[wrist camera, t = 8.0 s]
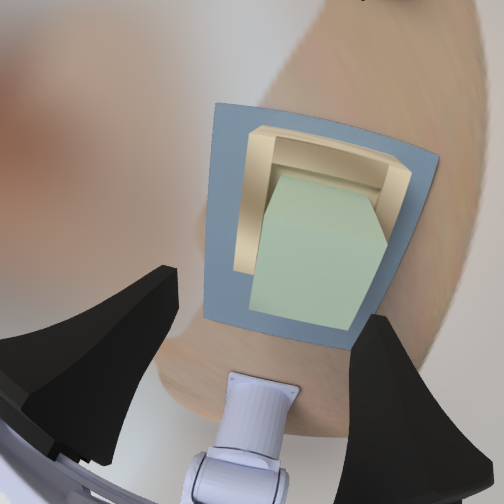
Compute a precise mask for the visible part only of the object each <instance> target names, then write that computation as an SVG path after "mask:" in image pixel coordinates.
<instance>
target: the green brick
mask: <svg viewBox="0 0 504 504" xmlns="http://www.w3.org/2000/svg"><path fill="white" fill-rule="evenodd" d="M387 246H388V244H387V242H386V239H385V236H384V234H383V231H382V229H381V226H380V224H379V221H378V219H377V216H376V214H375V212H374V209H373V207H372V205H371V202H370V200H369V198H368V195H365V194H362V193H358V192H354V191H350V190H346V189H343V188H339V187H335V186H330V185H326V184H322V183H318V182H314V181H309V180H305V179H300V178H296V177H291V176H286V175H281V176H280V178H279V181H278V183H277V186H276V188H275V190H274V193H273V195H272V198H271V200H270V203H269V205H268V207H267V210H266V212H265V215H264V219H263V225H262V231H261V237H260V243H259V249H258V255H257V261H256V267H255V273H254V279H253V285H252V291H251V297H250V303H249V309H250V310H254V311H258V312H262V313H266V314H271V315H275V316H280V317H284V318H289V319H293V320H298V321H302V322H307V323H312V324H317V325H322V326H327V327H332V328H337V329H342V330H348V329H349V327H350V325H351V323H352V321H353V320H354V318H355V316H356V314H357V312H358V310H359V308H360V306H361V304H362V302H363V299H364V297H365V295H366V293H367V291H368V289H369V287H370V285H371V282H372V280H373V278H374V276H375V274H376V271H377V269H378V267H379V265H380V262H381V260H382V258H383V255H384V253H385V250H386V248H387Z"/></svg>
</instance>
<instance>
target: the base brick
mask: <svg viewBox="0 0 504 504" xmlns="http://www.w3.org/2000/svg"><path fill="white" fill-rule="evenodd" d="M281 175H286V176H291V177H296V178H300V179H305V180H309V181H314V182H318V183H322V184H326V185H330V186H335V187H339V188H343V189H346V190H350V191H354V192H358V193H362V194H365V195H368V198H369V200H370V202H371V205H372V207H373V209H374V212H375V214H376V216H377V219H378V221H379V224H380V226H381V229H382V231H383V234H384V236H385V239H386V242H387V243H388V240H389V238H390V235H391V233H392V230H393V227H394V225H395V222H396V219H397V217H398V214H399V211H400V208H401V205H402V202H403V199H404V197H405V194H406V190H407V187H408V184H409V181H410V178H411V175H412V172H411V171H410V170H409V169H408V168H406V167H405V166H404V165H403V164H402V163H401V162H400V161H399V160H398V159H397V158H396V157H394V156H392V155H389V154H386V153H383V152H379V151H376V150H373V149H369V148H366V147H362V146H359V145H355V144H351V143H347V142H343V141H339V140H335V139H331V138H327V137H323V136H318V135H314V134H309V133H304V132H299V131H294V130H289V129H284V128H278V127H272V126H266V125H262V126H260V127H258V128H257V129H255V130H254V131H252V132H251V133H249V138H248V146H247V154H246V162H245V170H244V178H243V186H242V195H241V203H240V212H239V221H238V230H237V239H236V248H235V257H234V266H233V271H238V272H242V273H246V274H251V275H254V273H255V267H256V261H257V255H258V249H259V243H260V237H261V231H262V225H263V219H264V215H265V212H266V210H267V207H268V205H269V203H270V200H271V198H272V195H273V193H274V190H275V188H276V186H277V183H278V181H279V178H280V176H281Z"/></svg>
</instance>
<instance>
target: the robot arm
mask: <svg viewBox="0 0 504 504" xmlns="http://www.w3.org/2000/svg"><path fill="white" fill-rule="evenodd" d="M178 309H179V299H178V278H177V268H173V267H169V266H165V265H162V266H160V267H158V268H156V269H155V270H153V271H152V272H150V273H148V274H147V275H145V276H144V277H143V278H141V279H139V280H138V281H136V282H135V283H133V284H131V285H130V286H128V287H127V288H125V289H124V290H122V291H120V292H119V293H117V294H115V295H114V296H112V297H110V298H108V299H107V300H105V301H103V302H102V303H100V304H98V305H96V306H95V307H93V308H91V309H89V310H87V311H85V312H83V313H81V314H79V315H76V316H74V317H73V318H70V319H68V320H65V321H63V322H60V323H57V324H55V325H52V326H50V327H47V328H44V329H41V330H38V331H35V332H32V333H28V334H24V335H20V336H16V337H12V338H6V339H1V340H0V490H1V491H2V493H3V494H4V495H5V497H6V498H7V499H8V500H9V501H10V502H11V503H12V504H110V503H108V502H106V501H103V500H101V499H98V498H96V497H94V496H92V495H91V492H90V490H91V491H93V492H95V493H97V494H98V495H100V496H102V497H104V498H106V499H108V500H110V501H112V502H114V503H116V504H157V503H155V502H152V501H150V500H148V499H145V498H143V497H140V496H138V495H136V494H134V493H131V492H129V491H127V490H125V489H122V488H121V487H119V486H117V485H115V484H113V483H111V482H109V481H107V480H105V479H103V478H101V477H99V476H98V475H96V474H94V473H92V472H91V471H89V470H87V469H85V468H84V467H82V466H80V465H79V464H78V463H79V461H80V459H81V460H83V461H85V462H86V463H90V461H91V460H93V461H94V462H96V463H98V464H100V465H102V466H107V465H110V464H111V463H112V459H113V455H114V451H115V448H116V444H117V441H118V437H119V434H120V431H121V428H122V425H123V422H124V419H125V417H126V414H127V411H128V409H129V406H130V404H131V401H132V399H133V396H134V394H135V391H136V389H137V387H138V384H139V382H140V380H141V378H142V376H143V374H144V373H145V371H146V369H147V367H148V366H149V364H150V362H151V361H152V359H153V357H154V356H155V354H156V352H157V351H158V349H159V347H160V346H161V344H162V342H163V340H164V339H165V337H166V335H167V334H168V332H169V330H170V328H171V325H172V323H173V321H174V319H175V316H176V314H177V311H178ZM298 392H299V387H298V386H293V385H288V384H283V383H278V382H273V381H269V380H264V379H260V378H255V377H251V376H247V375H243V374H239V373H235V372H231V373H230V374H229V379H228V388H227V396H226V404H225V409H224V412H223V415H222V419H221V422H220V425H219V428H218V431H217V434H216V437H215V441H214V443H213V447H209V448H208V451H207V453H206V452H200V453H199V454H197V455H195V456H194V458H193V459H192V461H191V463H190V465H189V468H188V470H187V473H186V476H185V480H184V485H183V494H182V498H181V502H180V504H285V501H286V497H287V492H288V487H289V474H288V473H287V472H286V469H284V468H280V464H281V461H278V460H279V455H280V450H281V445H282V440H283V434H284V429H285V423H286V418H287V412H288V410H289V408H290V406H291V405H292V403H293V401H294V399H295V398H296V396H297V394H298ZM349 404H350V423H349V436H348V443H347V450H346V456H345V461H344V466H343V471H342V475H341V479H340V483H339V487H338V490H337V494H336V497H335V500H334V503H333V504H462V499H465V498H467V497H469V496H472V495H474V494H477V493H479V492H481V491H483V490H485V489H487V488H489V487H491V486H492V485H493V484H494V473H493V462H492V461H491V460H490V459H489V458H487V457H486V456H485V455H484V454H483V453H482V452H481V451H479V450H478V449H477V448H476V447H475V446H474V445H473V444H472V443H471V442H470V441H469V440H468V439H467V438H466V437H465V436H464V435H463V434H462V432H461V431H460V430H459V429H458V428H457V427H456V426H455V424H454V423H453V422H452V421H451V420H450V418H449V417H448V416H447V415H446V413H445V412H444V411H443V410H442V408H441V407H440V405H439V404H438V402H437V401H436V400H435V398H434V397H433V395H432V394H431V393H430V391H429V389H428V388H427V387H426V385H425V383H424V381H423V380H422V378H421V377H420V375H419V373H418V372H417V370H416V368H415V367H414V365H413V363H412V361H411V360H410V358H409V356H408V354H407V353H406V351H405V349H404V347H403V345H402V344H401V342H400V340H399V338H398V336H397V335H396V333H395V331H394V329H393V328H392V326H391V324H390V322H389V321H388V319H387V317H386V316H381V315H376V314H371V315H370V317H369V319H368V320H367V322H366V324H365V326H364V328H363V329H362V331H361V333H360V335H359V336H358V338H357V340H356V341H355V343H354V345H353V346H352V348H351V355H350V366H349ZM89 489H90V490H89Z"/></svg>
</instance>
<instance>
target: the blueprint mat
mask: <svg viewBox="0 0 504 504" xmlns="http://www.w3.org/2000/svg"><path fill="white" fill-rule="evenodd" d="M262 125H266V126H272V127H278V128H284V129H289V130H294V131H299V132H304V133H309V134H314V135H318V136H323V137H327V138H331V139H335V140H339V141H343V142H347V143H351V144H355V145H359V146H362V147H366V148H369V149H373V150H376V151H379V152H383V153H386V154H389V155H392V156H394V157H396V158H397V159H398V160H399V161H400V162H401V163H402V164H403V165H404V166H405V167H406V168H408V169H409V170H410V171H411V172H412V175H411V178H410V181H409V184H408V187H407V190H406V194H405V197H404V199H403V202H402V205H401V208H400V211H399V214H398V217H397V219H396V222H395V225H394V227H393V230H392V233H391V235H390V238H389V240H388V243H387V244H388V246H387V248H386V250H385V253H384V255H383V258H382V260H381V262H380V265H379V267H378V269H377V271H376V274H375V276H374V278H373V280H372V282H371V285H370V287H369V289H368V291H367V293H366V295H365V297H364V299H363V302H362V304H361V306H360V308H359V310H358V312H357V314H356V316H355V318H354V320H353V321H352V323H351V325H350V327H349V329H348V330H342V329H337V328H332V327H327V326H322V325H317V324H312V323H307V322H302V321H298V320H293V319H289V318H284V317H280V316H275V315H271V314H266V313H262V312H258V311H254V310H250V309H249V303H250V297H251V291H252V285H253V279H254V275H251V274H246V273H242V272H238V271H233V266H234V257H235V248H236V239H237V230H238V221H239V212H240V203H241V195H242V186H243V178H244V170H245V162H246V154H247V146H248V138H249V133H251V132H252V131H254V130H255V129H257V128H258V127H260V126H262ZM438 160H439V155H437V154H435V153H432V152H430V151H427V150H424V149H422V148H419V147H416V146H414V145H411V144H408V143H405V142H402V141H399V140H396V139H393V138H390V137H387V136H384V135H381V134H377V133H374V132H371V131H367V130H364V129H360V128H357V127H353V126H349V125H345V124H341V123H337V122H333V121H329V120H325V119H320V118H316V117H311V116H306V115H301V114H296V113H290V112H285V111H279V110H273V109H266V108H259V107H252V106H244V105H235V104H226V103H215V112H214V122H213V134H212V144H211V157H210V170H209V184H208V200H207V218H206V239H205V267H204V317H203V318H206V319H209V320H213V321H217V322H220V323H224V324H228V325H232V326H236V327H240V328H244V329H248V330H252V331H257V332H261V333H265V334H269V335H274V336H278V337H283V338H288V339H292V340H297V341H302V342H307V343H312V344H317V345H323V346H328V347H334V348H339V349H345V350H351V348H352V346H353V345H354V343H355V341H356V340H357V338H358V336H359V335H360V333H361V331H362V329H363V328H364V326H365V324H366V322H367V320H368V319H369V317H370V315H371V314H375V312H376V310H377V308H378V306H379V304H380V302H381V301H382V299H383V297H384V295H385V293H386V291H387V289H388V287H389V285H390V283H391V281H392V279H393V277H394V274H395V272H396V270H397V268H398V266H399V264H400V262H401V259H402V257H403V255H404V253H405V250H406V248H407V246H408V243H409V241H410V239H411V236H412V234H413V231H414V229H415V226H416V224H417V221H418V219H419V216H420V214H421V211H422V208H423V205H424V203H425V200H426V197H427V194H428V191H429V188H430V185H431V182H432V179H433V176H434V173H435V170H436V167H437V163H438Z"/></svg>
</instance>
